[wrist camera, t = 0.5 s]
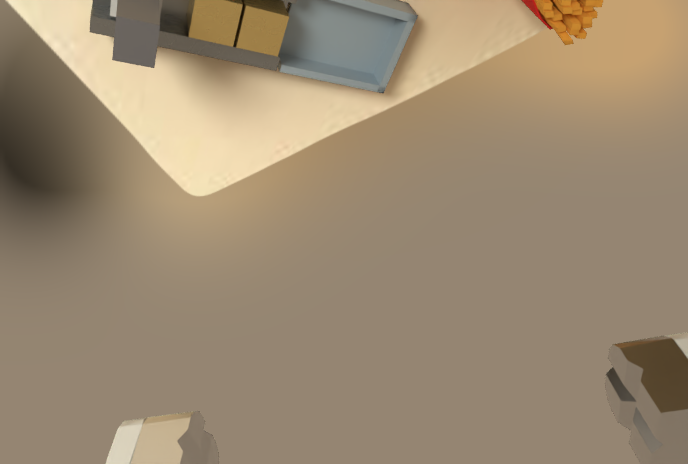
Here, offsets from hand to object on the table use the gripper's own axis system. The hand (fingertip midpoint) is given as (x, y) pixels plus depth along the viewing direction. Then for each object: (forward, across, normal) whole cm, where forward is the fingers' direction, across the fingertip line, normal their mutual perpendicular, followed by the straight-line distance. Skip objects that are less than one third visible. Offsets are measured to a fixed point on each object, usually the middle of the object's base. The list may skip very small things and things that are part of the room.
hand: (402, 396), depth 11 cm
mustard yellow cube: (+49, +8, +2) cm, 49 cm away
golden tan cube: (+48, +12, 0) cm, 49 cm away
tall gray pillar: (+46, +17, -3) cm, 49 cm away
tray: (+52, 0, +6) cm, 52 cm away
